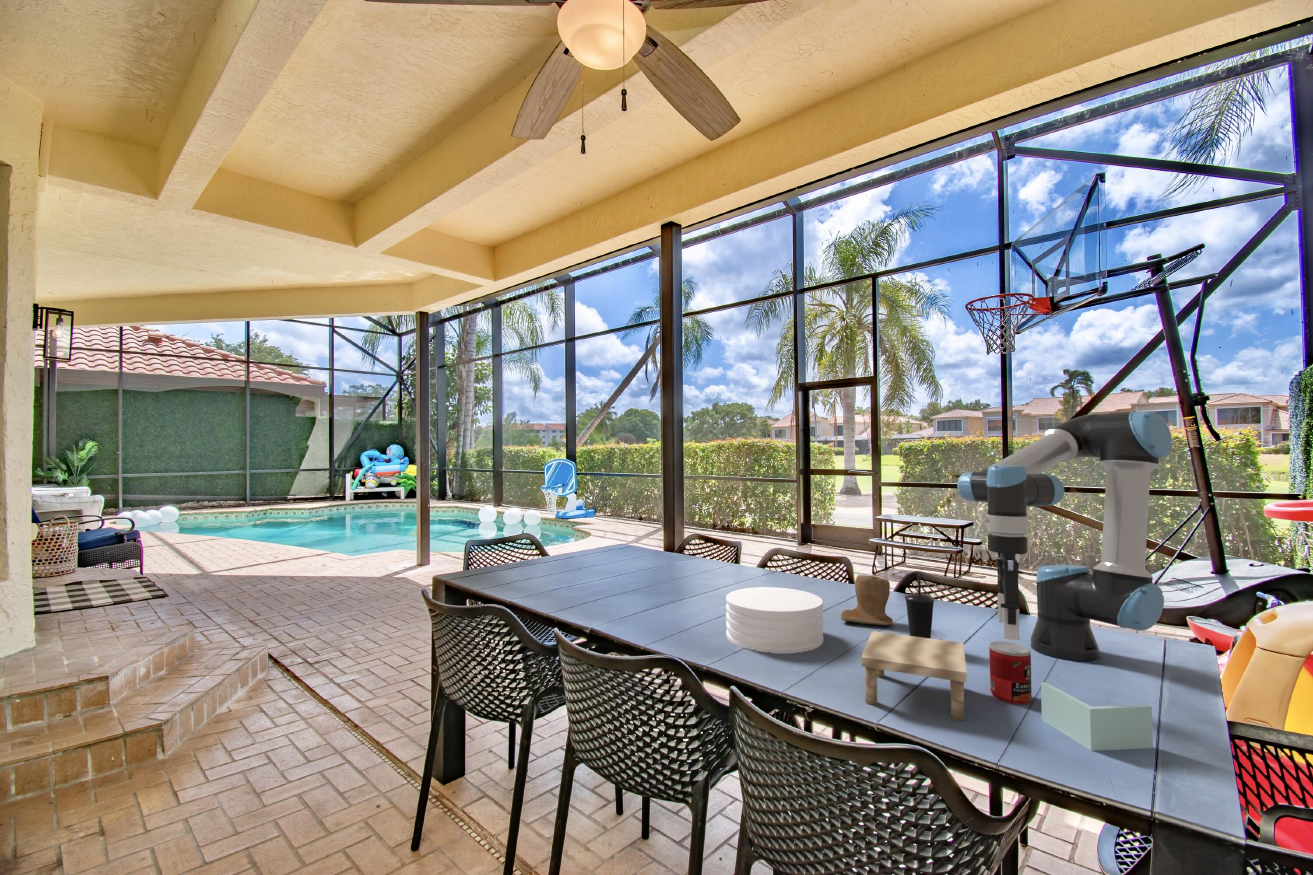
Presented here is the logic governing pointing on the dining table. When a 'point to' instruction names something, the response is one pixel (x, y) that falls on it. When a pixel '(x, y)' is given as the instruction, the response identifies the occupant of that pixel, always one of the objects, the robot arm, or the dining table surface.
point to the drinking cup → (919, 613)
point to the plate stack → (774, 619)
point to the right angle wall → (1097, 721)
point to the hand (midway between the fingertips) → (1008, 630)
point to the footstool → (915, 663)
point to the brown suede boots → (870, 601)
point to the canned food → (1010, 672)
